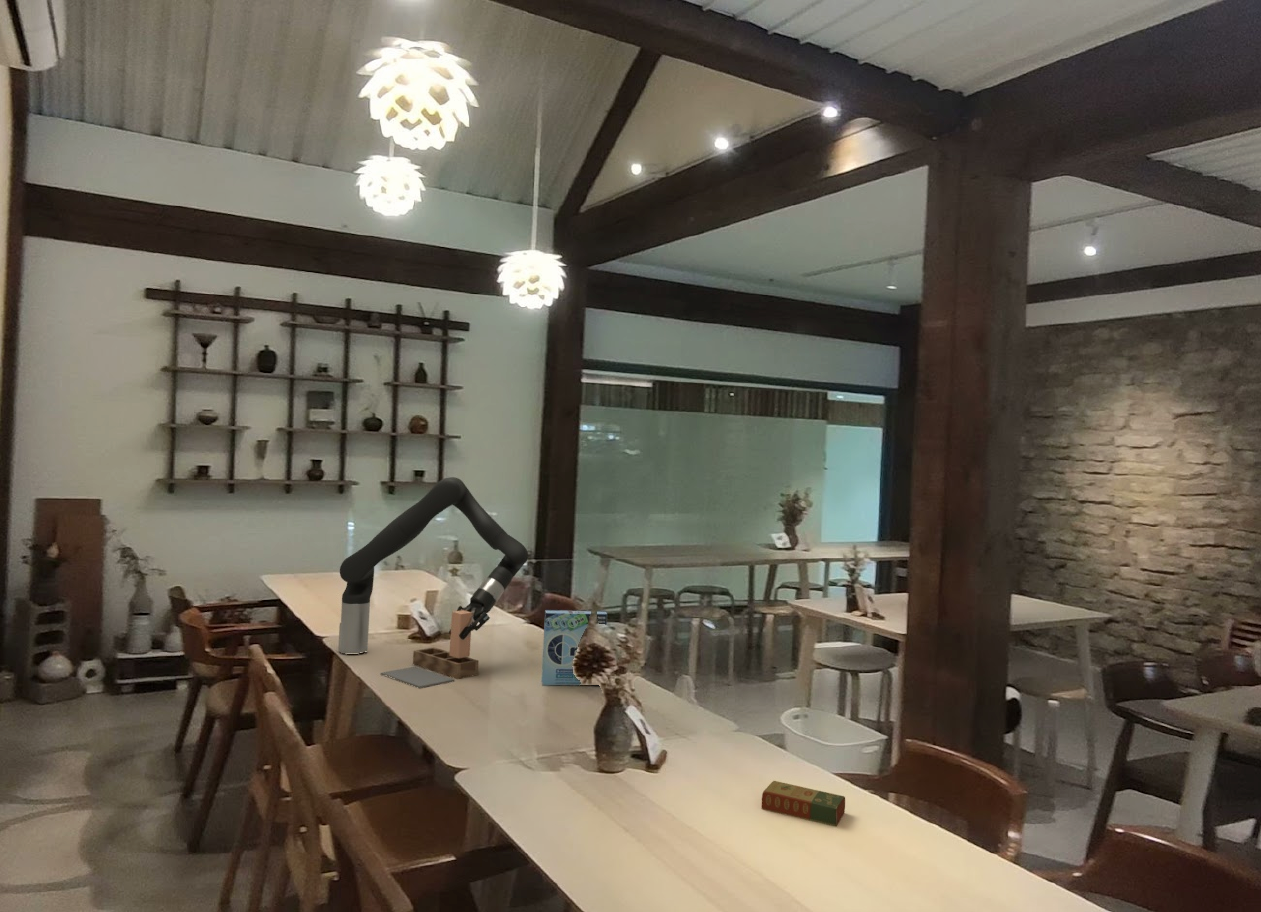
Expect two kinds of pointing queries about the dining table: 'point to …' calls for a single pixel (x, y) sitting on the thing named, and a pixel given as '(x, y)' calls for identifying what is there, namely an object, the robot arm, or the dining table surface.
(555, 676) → the gum box
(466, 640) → the block
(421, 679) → the mat
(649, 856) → the dining table surface
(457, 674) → the stand
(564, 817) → the dining table surface
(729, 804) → the dining table surface
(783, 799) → the carton
